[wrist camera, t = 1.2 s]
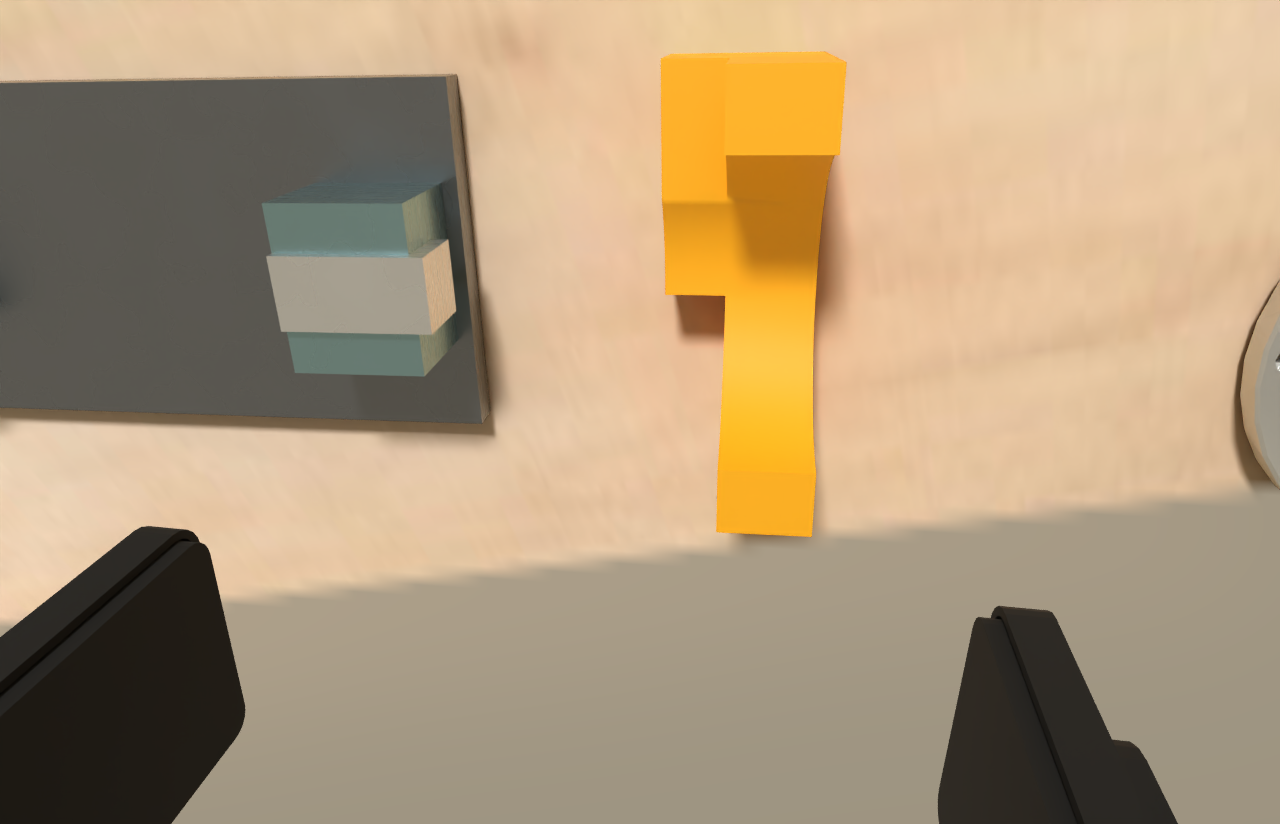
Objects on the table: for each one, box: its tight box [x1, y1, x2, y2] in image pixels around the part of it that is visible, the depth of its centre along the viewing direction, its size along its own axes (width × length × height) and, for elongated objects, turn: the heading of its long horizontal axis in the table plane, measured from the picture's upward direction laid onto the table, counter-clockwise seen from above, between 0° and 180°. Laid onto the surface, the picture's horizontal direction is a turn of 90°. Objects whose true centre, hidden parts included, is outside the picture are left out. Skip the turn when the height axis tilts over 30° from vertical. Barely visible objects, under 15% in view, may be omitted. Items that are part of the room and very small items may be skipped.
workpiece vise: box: [0, 74, 490, 424], centre depth 28 cm, size 24×11×4 cm, turn 91°
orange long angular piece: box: [661, 52, 847, 537], centre depth 24 cm, size 12×4×6 cm, turn 1°
